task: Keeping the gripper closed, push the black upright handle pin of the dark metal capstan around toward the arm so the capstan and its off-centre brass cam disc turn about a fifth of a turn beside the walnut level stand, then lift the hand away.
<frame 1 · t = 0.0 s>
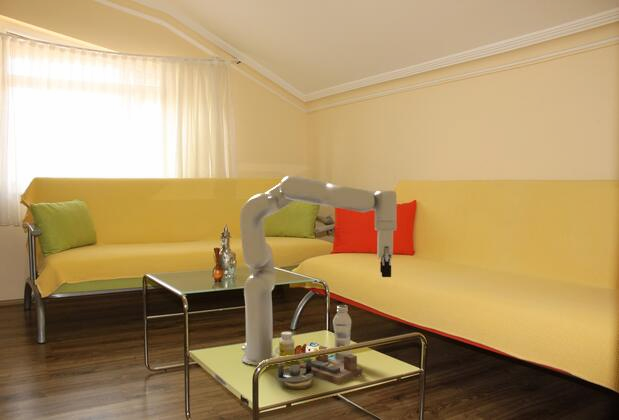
hand: (385, 274, 186), 31 cm above the table, tool pointing down, fingers open, 9 cm apart
level stand: (329, 372, 178), on the table
plastic bottle: (342, 362, 189), on the table
capstan: (295, 372, 168), point 4 cm above the table, hinge at 0.0°
supplement bottle: (287, 360, 191), on the table
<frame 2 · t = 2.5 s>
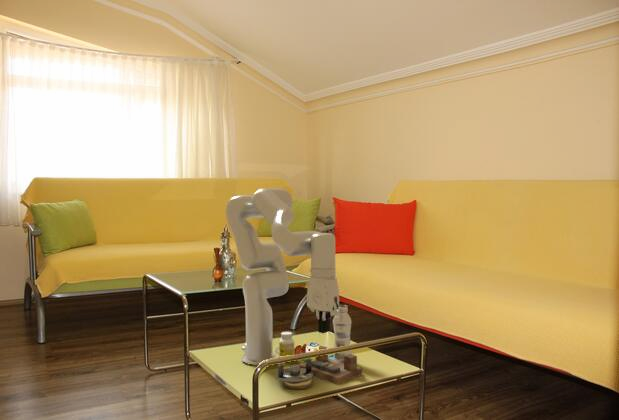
hand: (323, 331, 165), 17 cm above the table, tool pointing down, fingers closed
nothing on the table moved.
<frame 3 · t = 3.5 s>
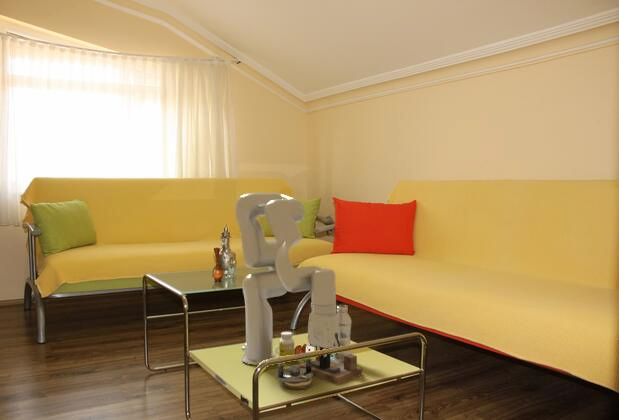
hand: (325, 367, 165), 6 cm above the table, tool pointing down, fingers closed
nothing on the table moved.
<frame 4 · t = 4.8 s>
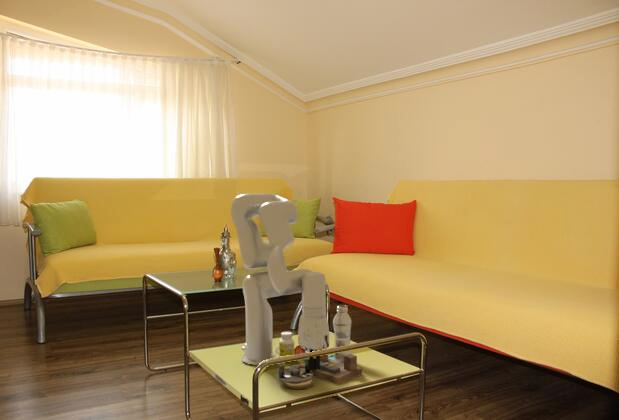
hand: (314, 369, 169), 4 cm above the table, tool pointing down, fingers closed
capstan: (295, 372, 168), point 4 cm above the table, hinge at 5.5°, touching gripper
everything else where it was.
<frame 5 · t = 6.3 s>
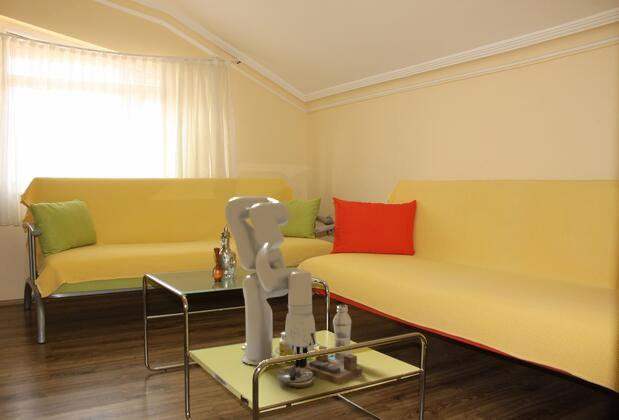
hand: (301, 366, 170), 5 cm above the table, tool pointing down, fingers closed
capstan: (295, 372, 168), point 4 cm above the table, hinge at 54.4°, touching gripper
everything else where it was.
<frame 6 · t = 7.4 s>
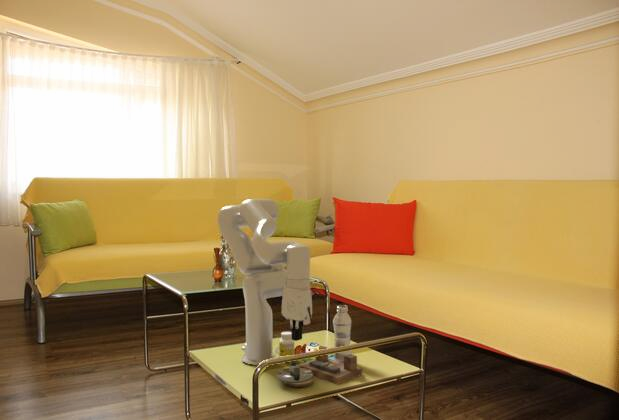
hand: (296, 339, 171), 13 cm above the table, tool pointing down, fingers closed
capstan: (295, 372, 168), point 4 cm above the table, hinge at 68.0°
everything else where it was.
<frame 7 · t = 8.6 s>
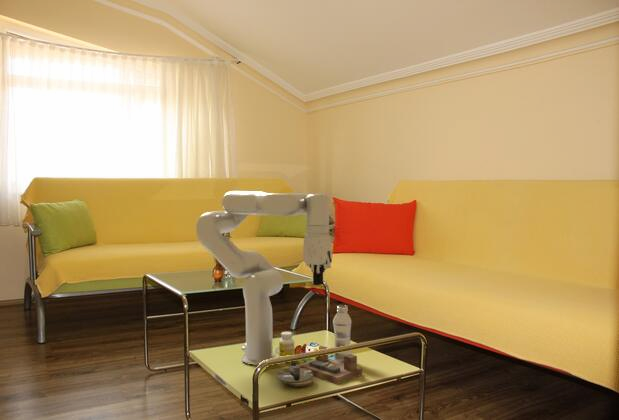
hand: (318, 284, 180), 29 cm above the table, tool pointing down, fingers closed
nothing on the table moved.
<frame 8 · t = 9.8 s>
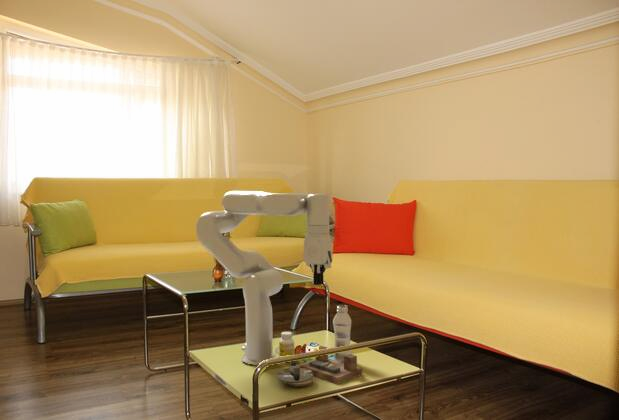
hand: (318, 284, 180), 29 cm above the table, tool pointing down, fingers closed
nothing on the table moved.
at the end: capstan at +68° (first picture: +0°); capstan touching nothing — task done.
